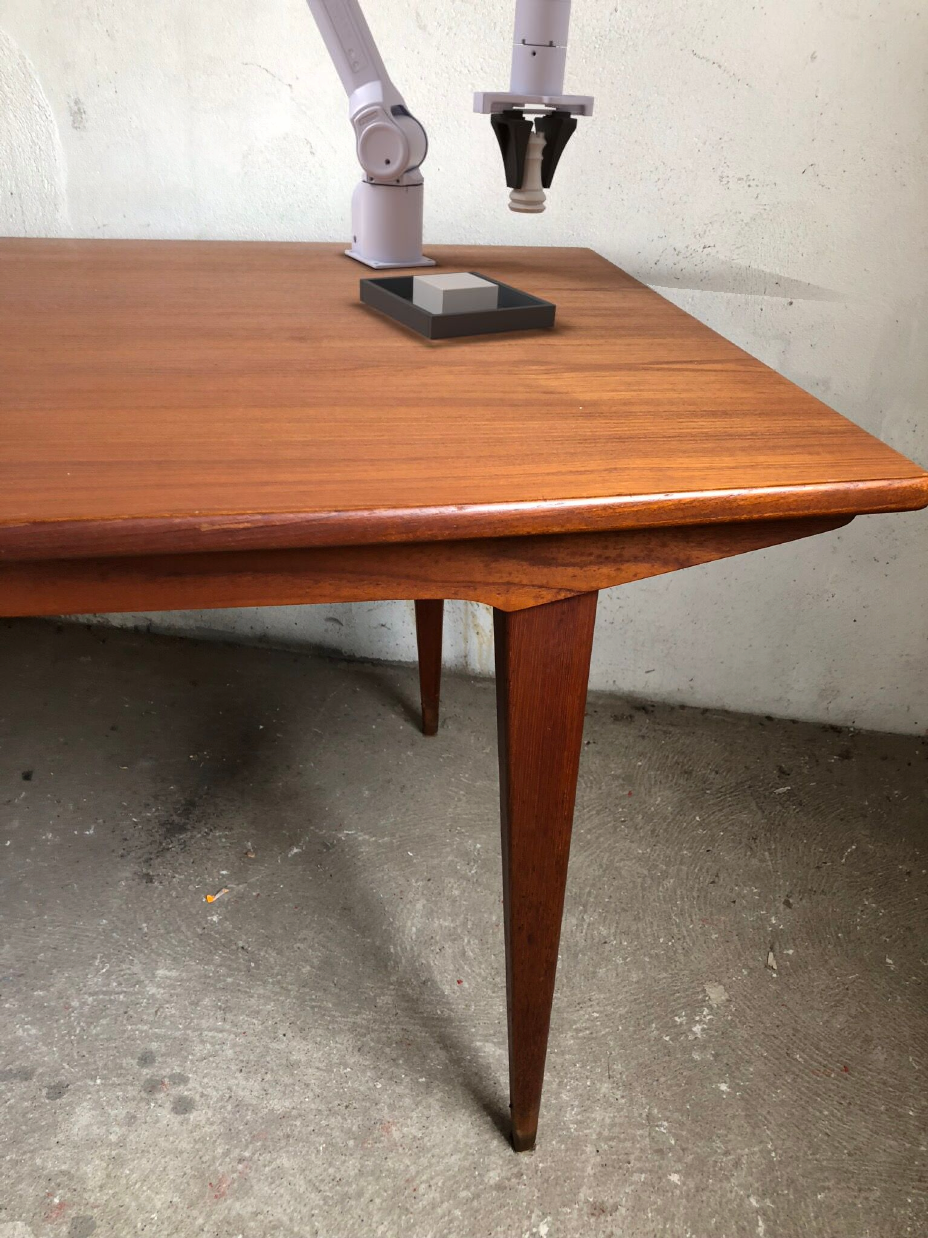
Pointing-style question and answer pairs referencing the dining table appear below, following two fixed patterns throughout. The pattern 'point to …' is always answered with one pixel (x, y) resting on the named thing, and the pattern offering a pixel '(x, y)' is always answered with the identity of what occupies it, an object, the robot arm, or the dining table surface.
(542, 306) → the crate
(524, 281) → the dining table surface
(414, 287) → the grey block
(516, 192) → the rook chess piece
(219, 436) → the dining table surface
